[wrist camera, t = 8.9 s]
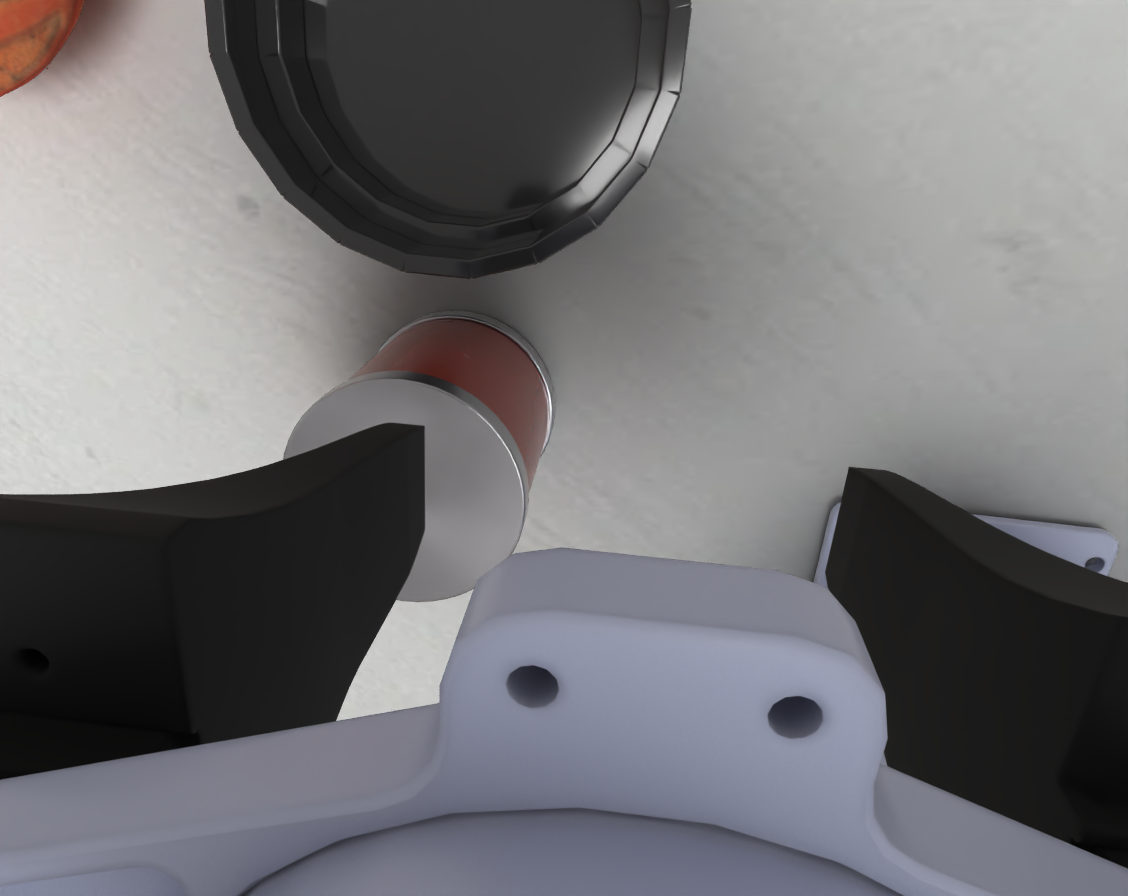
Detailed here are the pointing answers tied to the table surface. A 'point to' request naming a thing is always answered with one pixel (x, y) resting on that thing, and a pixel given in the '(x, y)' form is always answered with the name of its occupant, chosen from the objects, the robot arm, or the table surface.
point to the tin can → (452, 436)
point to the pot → (32, 37)
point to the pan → (451, 117)
